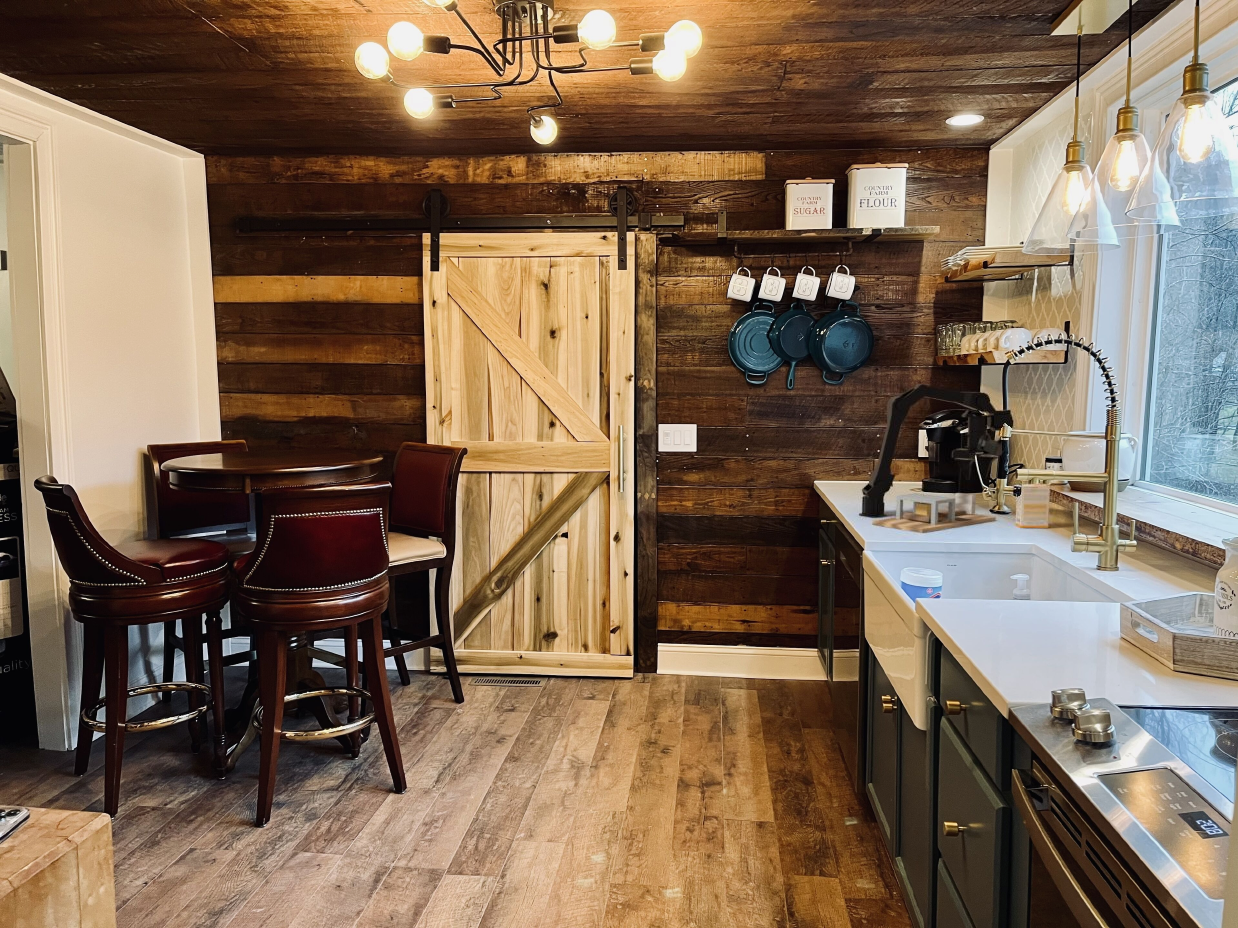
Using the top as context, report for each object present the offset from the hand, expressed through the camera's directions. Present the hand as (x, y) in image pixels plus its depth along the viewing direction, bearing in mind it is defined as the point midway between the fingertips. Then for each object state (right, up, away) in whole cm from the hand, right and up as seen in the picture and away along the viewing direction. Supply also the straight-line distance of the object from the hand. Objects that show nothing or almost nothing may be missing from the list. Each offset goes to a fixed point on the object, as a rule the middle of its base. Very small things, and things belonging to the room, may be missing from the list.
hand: (976, 478), depth 282 cm
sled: (-14, -12, -8) cm, 20 cm away
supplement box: (+9, -15, -18) cm, 25 cm away
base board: (-17, -14, -10) cm, 24 cm away
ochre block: (-21, -11, -13) cm, 27 cm away
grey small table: (-21, -14, -13) cm, 28 cm away
